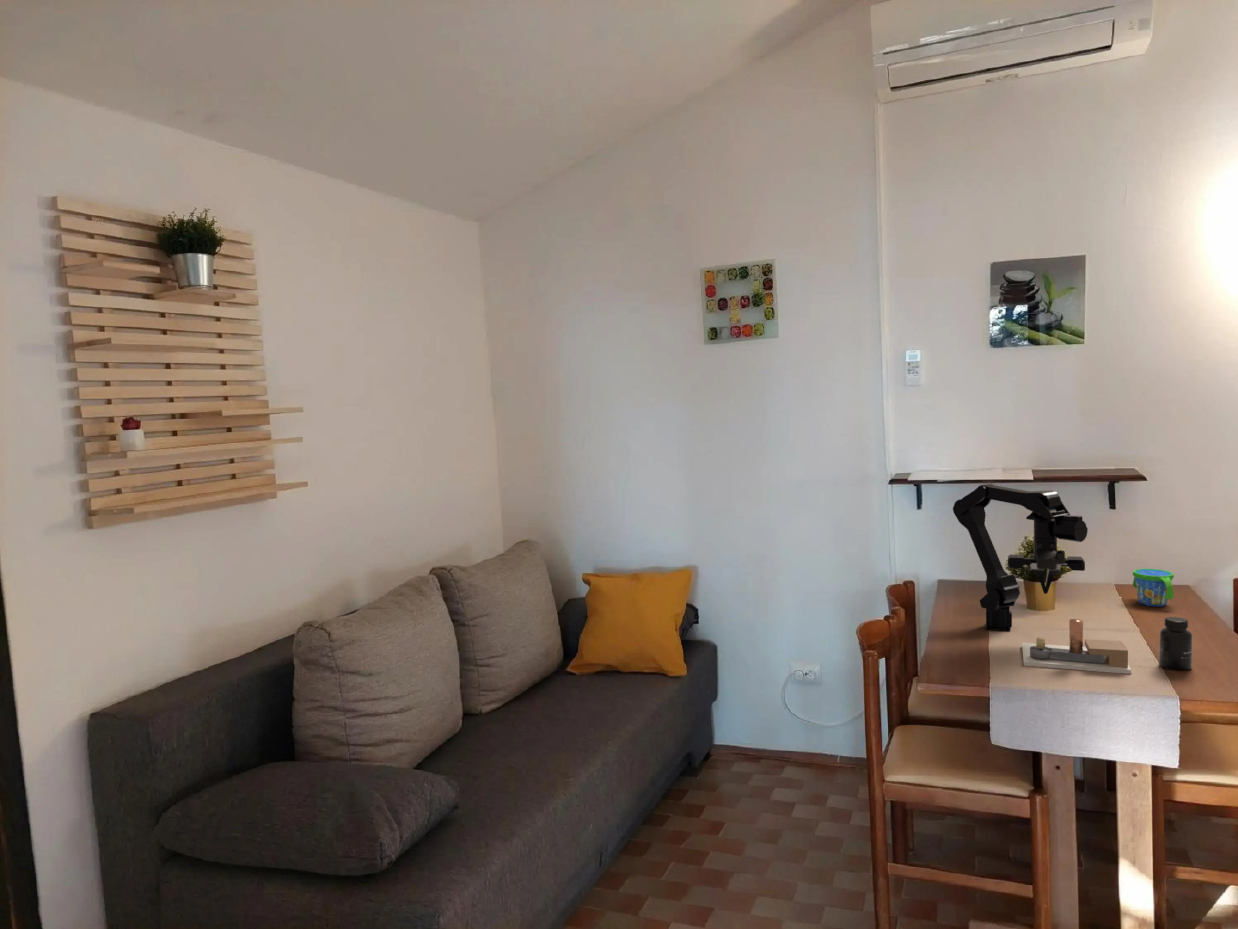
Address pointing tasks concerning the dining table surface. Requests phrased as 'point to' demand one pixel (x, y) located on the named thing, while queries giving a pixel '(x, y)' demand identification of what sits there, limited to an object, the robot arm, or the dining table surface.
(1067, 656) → the link
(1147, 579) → the snack cup
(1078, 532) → the robot arm
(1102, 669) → the base
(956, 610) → the dining table surface
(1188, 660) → the supplement bottle
